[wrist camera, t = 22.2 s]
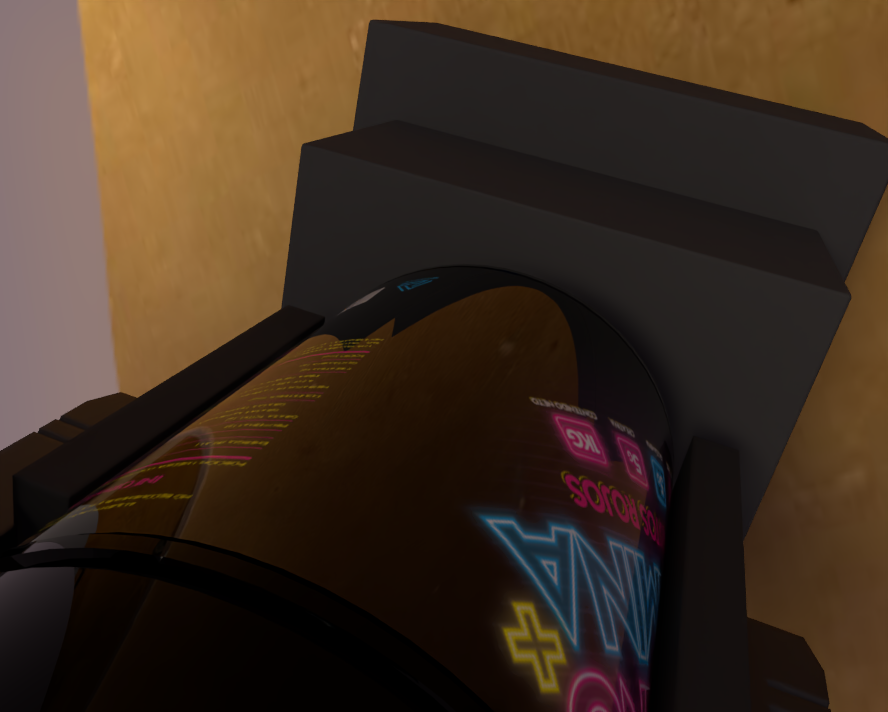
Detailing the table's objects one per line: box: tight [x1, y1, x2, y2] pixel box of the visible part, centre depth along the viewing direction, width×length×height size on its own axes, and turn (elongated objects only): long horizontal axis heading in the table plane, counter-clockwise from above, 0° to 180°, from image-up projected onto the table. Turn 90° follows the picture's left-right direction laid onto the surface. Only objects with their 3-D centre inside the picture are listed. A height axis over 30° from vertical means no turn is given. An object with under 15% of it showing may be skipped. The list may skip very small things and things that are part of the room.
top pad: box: [281, 120, 851, 541], centre depth 18 cm, size 10×8×5 cm
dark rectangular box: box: [353, 20, 888, 283], centre depth 22 cm, size 12×12×5 cm
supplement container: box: [0, 264, 674, 712], centre depth 10 cm, size 7×7×10 cm
